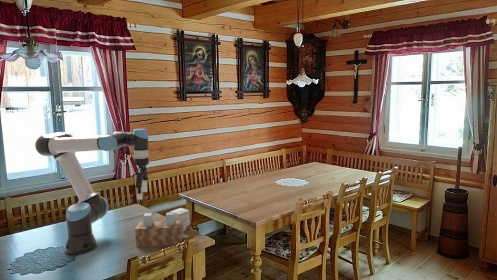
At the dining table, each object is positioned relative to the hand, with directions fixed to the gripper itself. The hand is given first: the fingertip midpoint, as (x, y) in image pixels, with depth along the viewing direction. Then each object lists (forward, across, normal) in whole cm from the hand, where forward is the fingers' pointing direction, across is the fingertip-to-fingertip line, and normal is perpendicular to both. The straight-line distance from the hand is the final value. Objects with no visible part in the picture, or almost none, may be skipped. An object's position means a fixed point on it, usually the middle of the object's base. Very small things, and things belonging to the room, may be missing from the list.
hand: (142, 195), depth 192 cm
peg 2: (+20, -3, -16) cm, 25 cm away
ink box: (+26, +14, -19) cm, 35 cm away
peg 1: (+20, -3, -4) cm, 20 cm away
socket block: (+26, -3, -10) cm, 28 cm away
